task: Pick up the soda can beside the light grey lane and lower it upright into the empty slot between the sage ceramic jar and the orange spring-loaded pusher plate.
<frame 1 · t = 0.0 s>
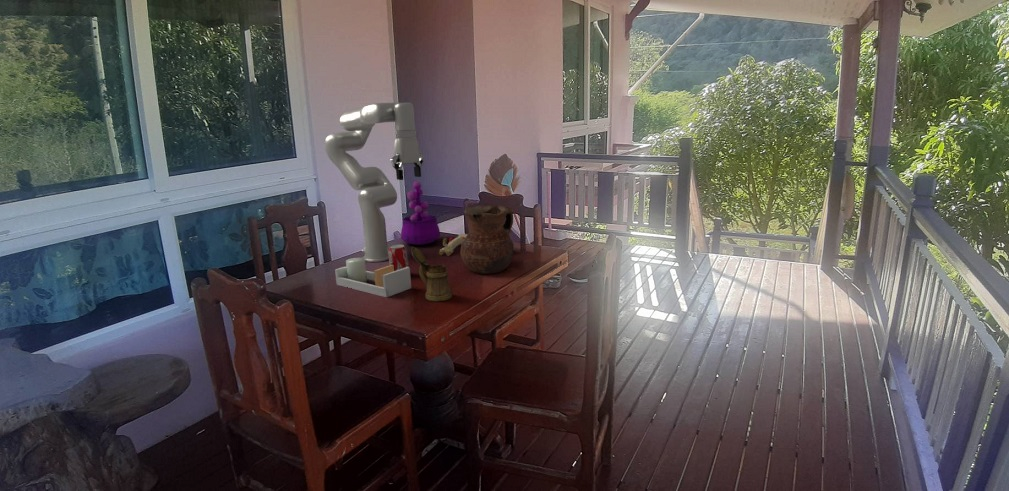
hand: (409, 178, 236), 37 cm above the table, tool pointing down, fingers open, 9 cm apart
decorative plant: (421, 243, 284), on the table
jug: (488, 269, 237), on the table
cream bone: (456, 249, 271), on the table
pusher lane: (375, 286, 219), on the table
wooden mug: (433, 297, 205), on the table
pusher plate: (384, 278, 214), point 4 cm above the table, slide at 0.0 cm
soda can: (399, 276, 232), on the table
sage jar: (357, 282, 225), resting in pusher lane
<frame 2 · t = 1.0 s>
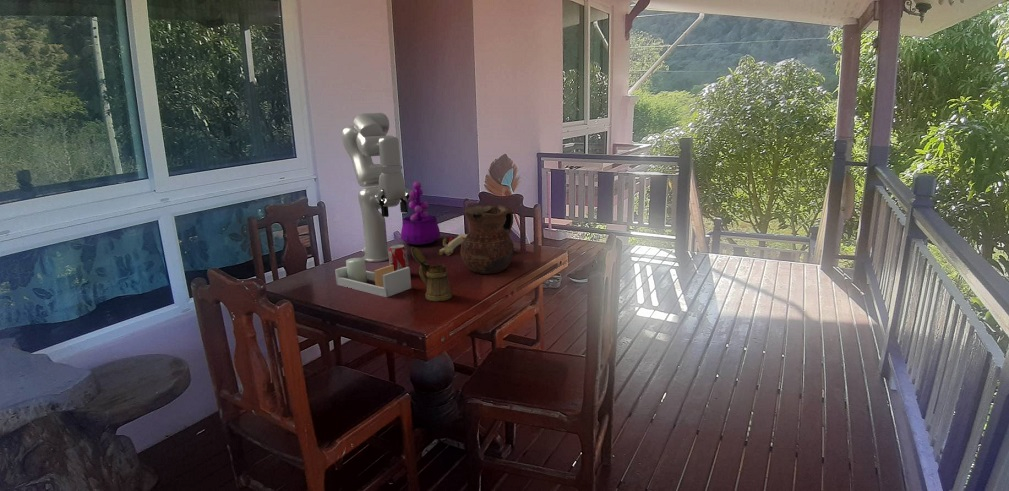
hand: (394, 214, 226), 25 cm above the table, tool pointing down, fingers open, 9 cm apart
nothing on the table moved.
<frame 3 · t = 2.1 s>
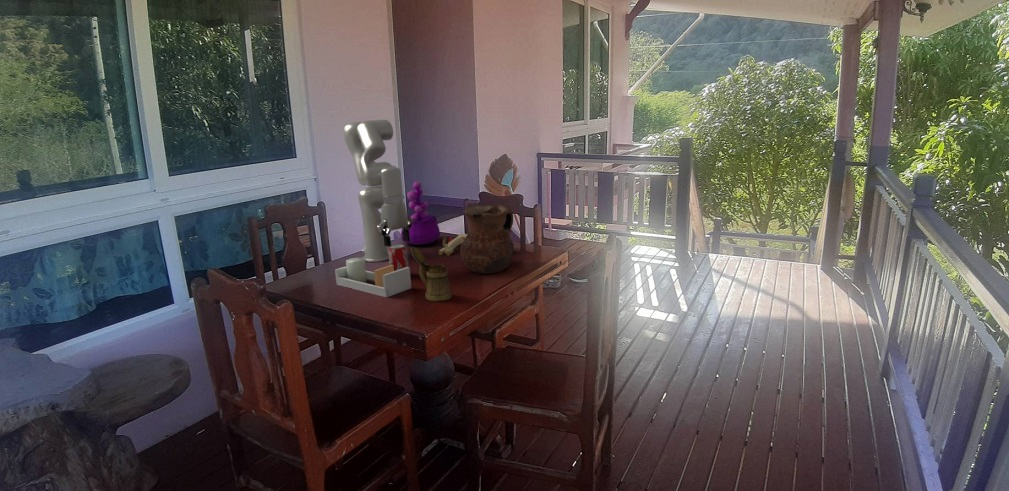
hand: (397, 243, 228), 13 cm above the table, tool pointing down, fingers open, 9 cm apart
nothing on the table moved.
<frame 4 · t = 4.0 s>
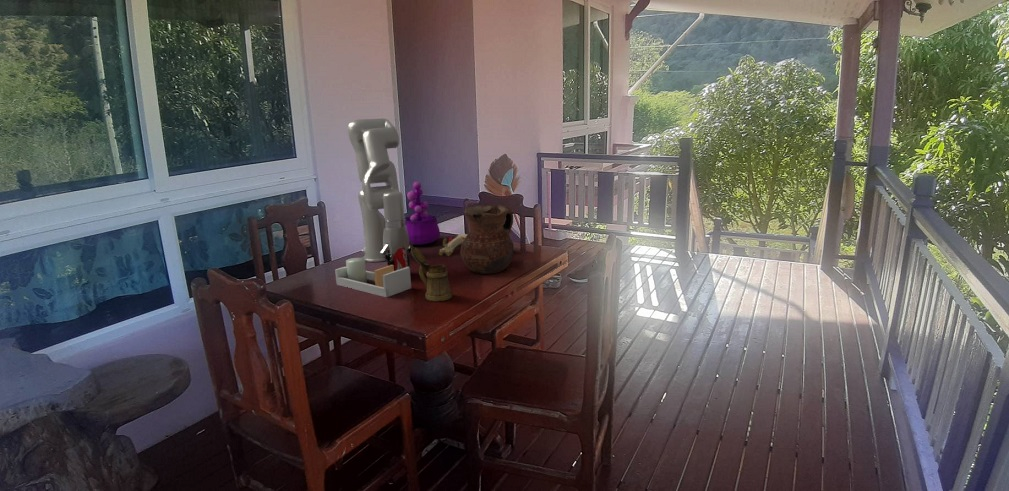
hand: (398, 267, 231), 3 cm above the table, tool pointing down, fingers closed on soda can, 7 cm apart
soda can: (399, 276, 232), on the table, touching gripper
everything else where it was.
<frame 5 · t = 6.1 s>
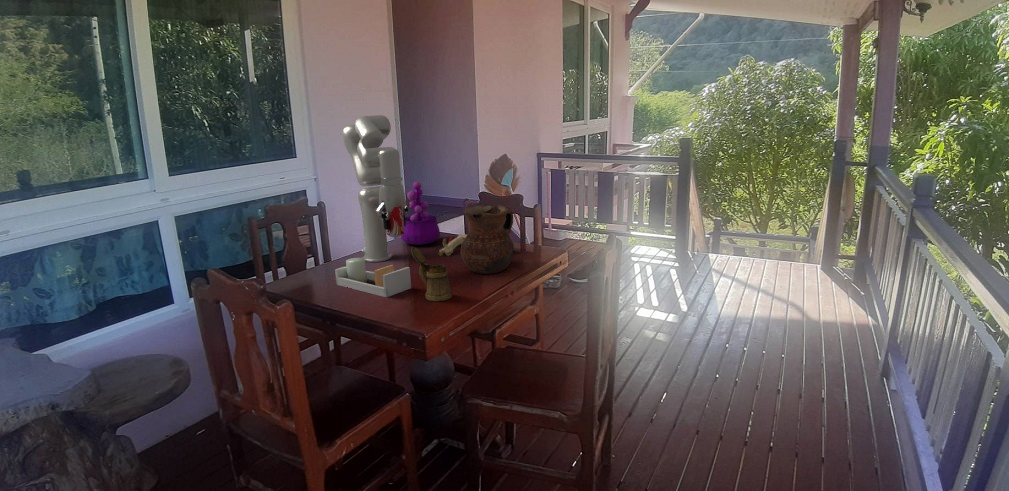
hand: (395, 227, 227), 20 cm above the table, tool pointing down, fingers closed on soda can, 7 cm apart
soda can: (395, 236, 228), point 16 cm above the table, touching gripper
everything else where it was.
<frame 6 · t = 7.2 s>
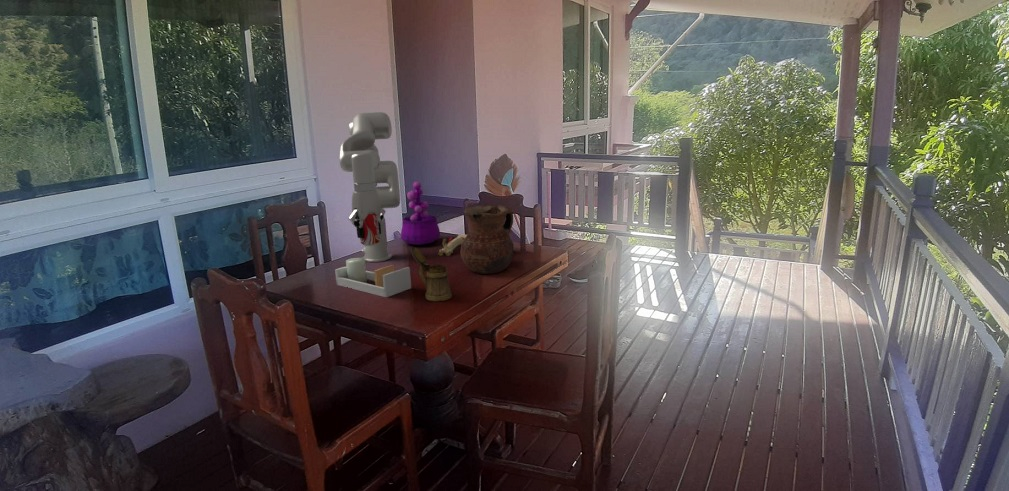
hand: (369, 235, 215), 20 cm above the table, tool pointing down, fingers closed on soda can, 7 cm apart
soda can: (370, 244, 215), point 16 cm above the table, touching gripper
everything else where it was.
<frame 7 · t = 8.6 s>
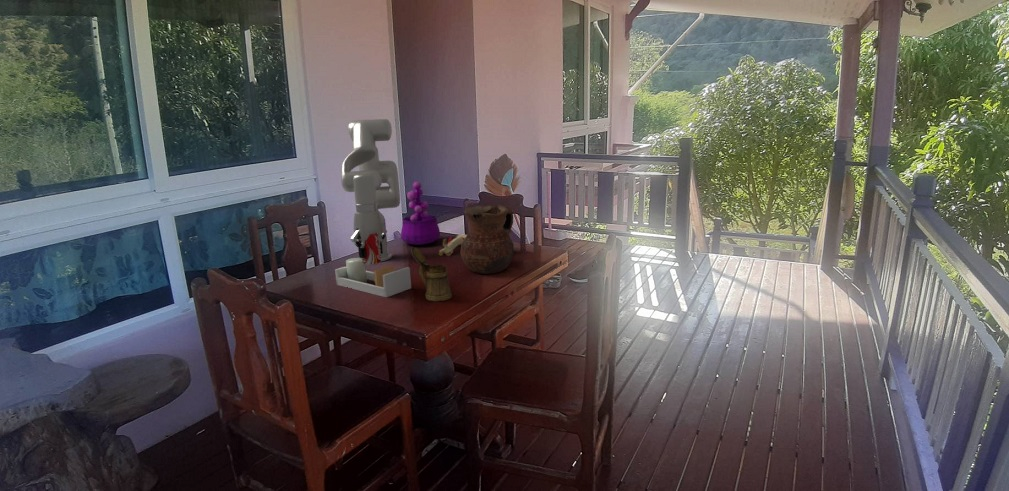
hand: (371, 255, 216), 12 cm above the table, tool pointing down, fingers closed on soda can, 7 cm apart
soda can: (372, 264, 217), point 9 cm above the table, touching gripper
everything else where it was.
when the fingers open (5 cm above the table, at t = 10.9 s): soda can drops 2 cm, resting in pusher lane.
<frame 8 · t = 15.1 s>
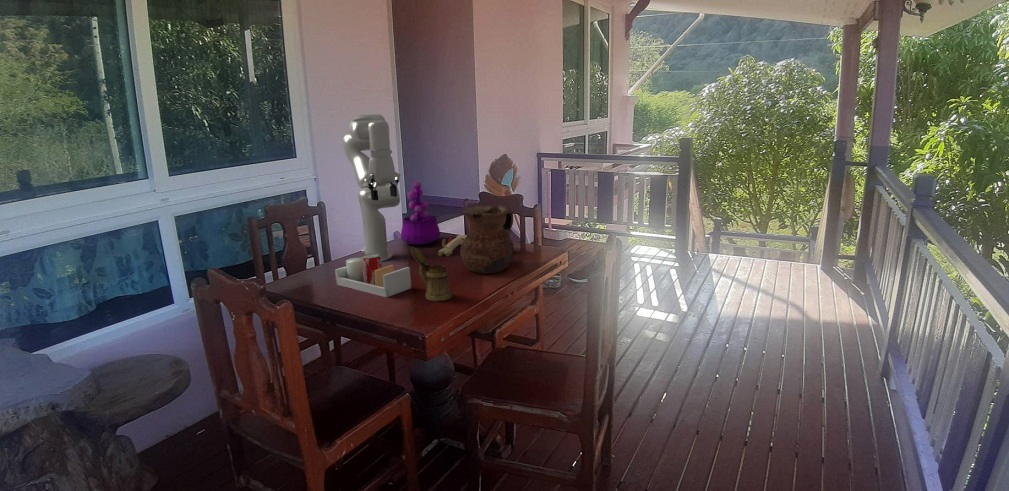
hand: (384, 198, 229), 30 cm above the table, tool pointing down, fingers open, 9 cm apart
soda can: (374, 287, 219), resting in pusher lane
at the end: soda can 0.4 cm off-centre on the pusher lane, point 0.0 cm above the pusher lane's base; soda can tilted 0°; sage jar moved 0.0 cm from its start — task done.
